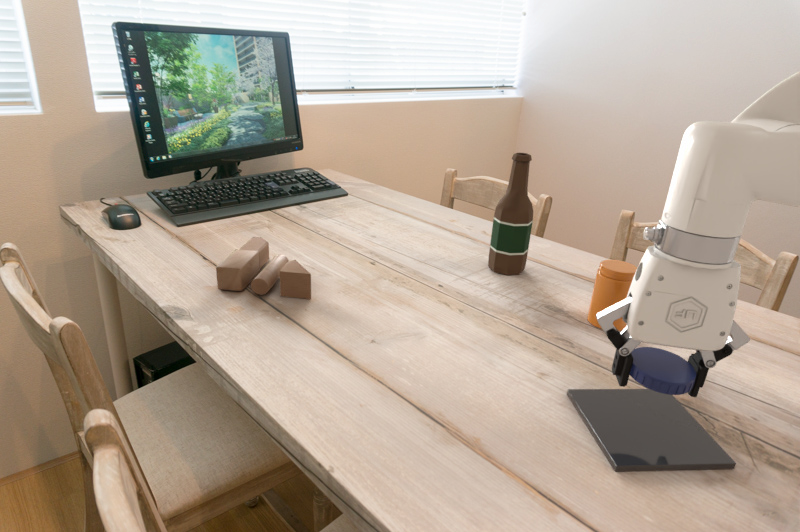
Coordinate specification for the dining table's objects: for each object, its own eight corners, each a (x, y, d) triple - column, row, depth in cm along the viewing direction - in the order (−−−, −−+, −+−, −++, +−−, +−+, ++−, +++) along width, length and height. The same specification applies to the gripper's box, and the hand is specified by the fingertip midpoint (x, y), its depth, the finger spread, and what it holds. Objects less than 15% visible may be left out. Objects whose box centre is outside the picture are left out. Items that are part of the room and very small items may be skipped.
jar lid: (623, 352, 65) (626, 341, 65) (686, 365, 64) (690, 354, 63) (628, 386, 59) (632, 374, 58) (698, 402, 57) (703, 390, 57)
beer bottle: (487, 260, 115) (501, 148, 106) (523, 264, 114) (540, 152, 105) (487, 273, 108) (502, 155, 99) (526, 277, 107) (545, 159, 98)
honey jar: (616, 314, 94) (629, 259, 90) (632, 331, 88) (647, 274, 84) (581, 312, 94) (592, 258, 90) (595, 330, 88) (608, 272, 84)
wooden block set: (212, 262, 91) (250, 230, 107) (214, 292, 93) (252, 256, 109) (309, 271, 89) (332, 237, 106) (309, 301, 91) (332, 263, 108)
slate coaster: (665, 393, 72) (666, 388, 72) (734, 469, 59) (736, 463, 59) (566, 394, 70) (567, 389, 70) (615, 471, 58) (616, 465, 57)
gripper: (616, 245, 53) (582, 392, 60) (803, 266, 51) (746, 416, 58) (603, 223, 60) (574, 357, 67) (767, 241, 58) (720, 378, 65)
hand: (654, 384), depth 62 cm, fingers closed on jar lid, 7 cm apart
